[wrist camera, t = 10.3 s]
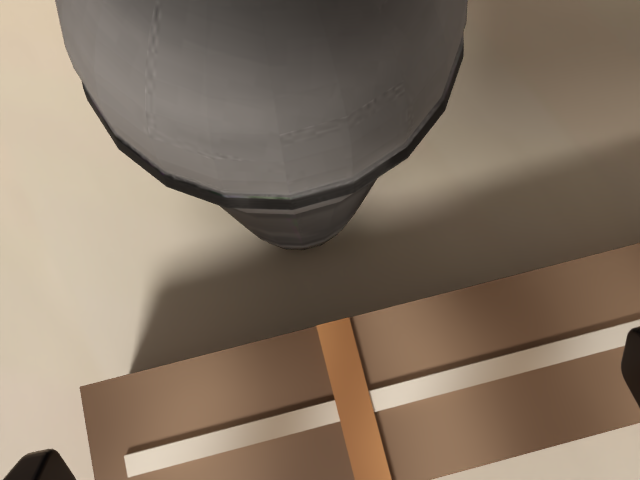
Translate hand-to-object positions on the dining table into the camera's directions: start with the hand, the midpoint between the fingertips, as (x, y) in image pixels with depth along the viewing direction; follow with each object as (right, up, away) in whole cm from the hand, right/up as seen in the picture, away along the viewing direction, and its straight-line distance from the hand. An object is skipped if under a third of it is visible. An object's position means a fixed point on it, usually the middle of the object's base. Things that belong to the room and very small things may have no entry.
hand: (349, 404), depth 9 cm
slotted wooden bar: (+6, -2, +12) cm, 13 cm away
